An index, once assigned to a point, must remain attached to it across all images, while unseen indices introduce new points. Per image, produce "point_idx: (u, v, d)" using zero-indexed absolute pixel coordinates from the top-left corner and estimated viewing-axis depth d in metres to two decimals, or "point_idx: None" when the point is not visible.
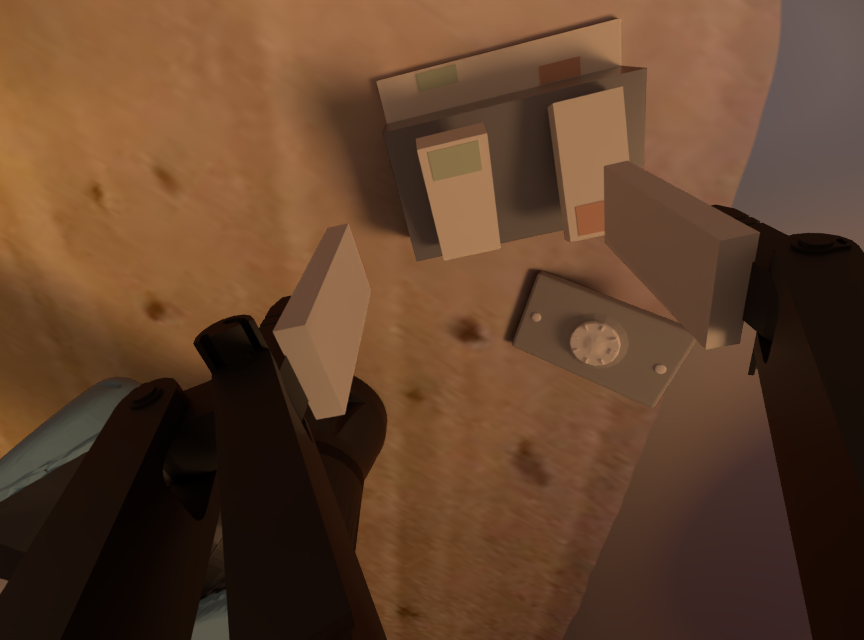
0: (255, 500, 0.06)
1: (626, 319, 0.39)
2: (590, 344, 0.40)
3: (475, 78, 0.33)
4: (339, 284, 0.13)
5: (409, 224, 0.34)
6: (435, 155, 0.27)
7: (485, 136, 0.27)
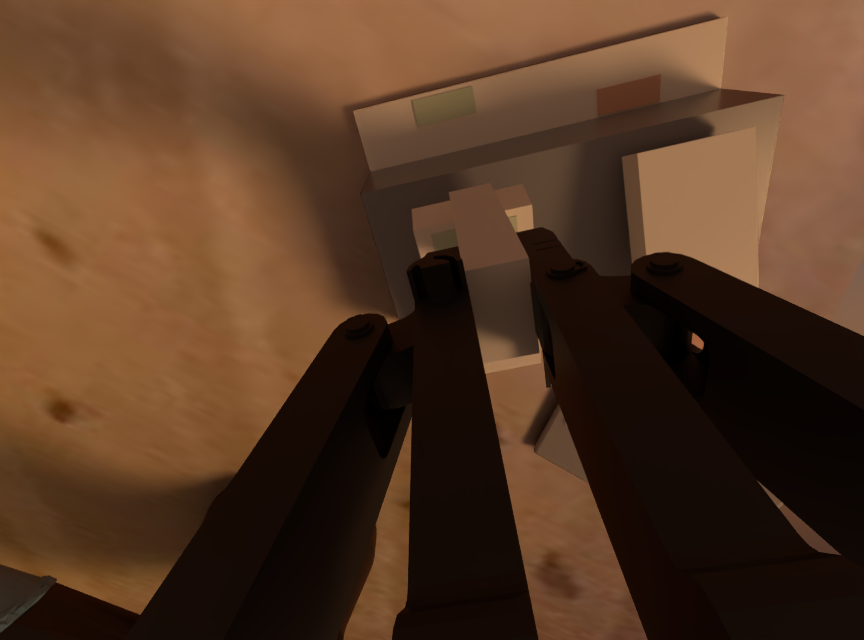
0: (442, 431, 0.06)
1: None
2: None
3: (501, 107, 0.22)
4: None
5: None
6: (444, 238, 0.16)
7: (529, 209, 0.16)
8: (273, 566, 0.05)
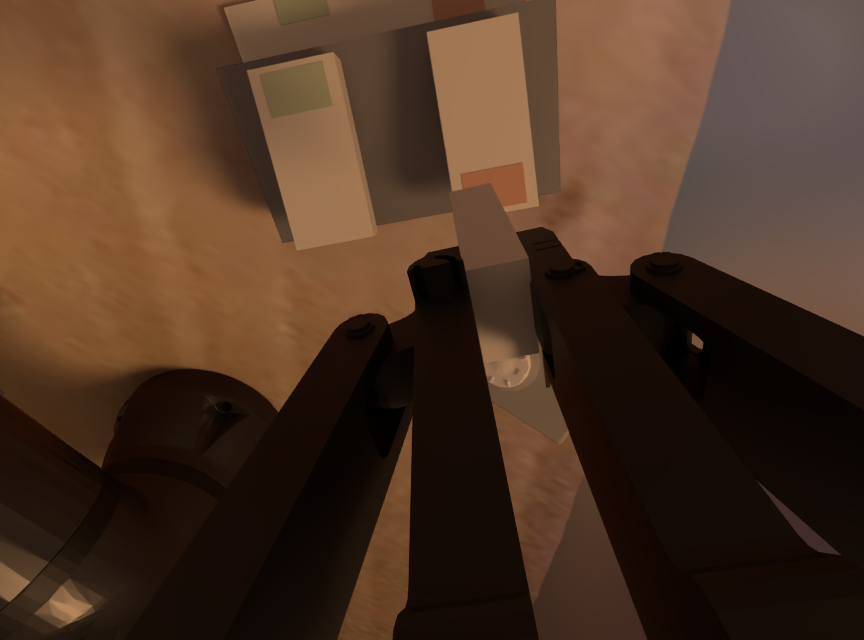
0: (443, 431, 0.06)
1: None
2: None
3: (351, 10, 0.26)
4: None
5: (267, 194, 0.27)
6: (270, 78, 0.22)
7: (331, 56, 0.21)
8: (274, 566, 0.05)
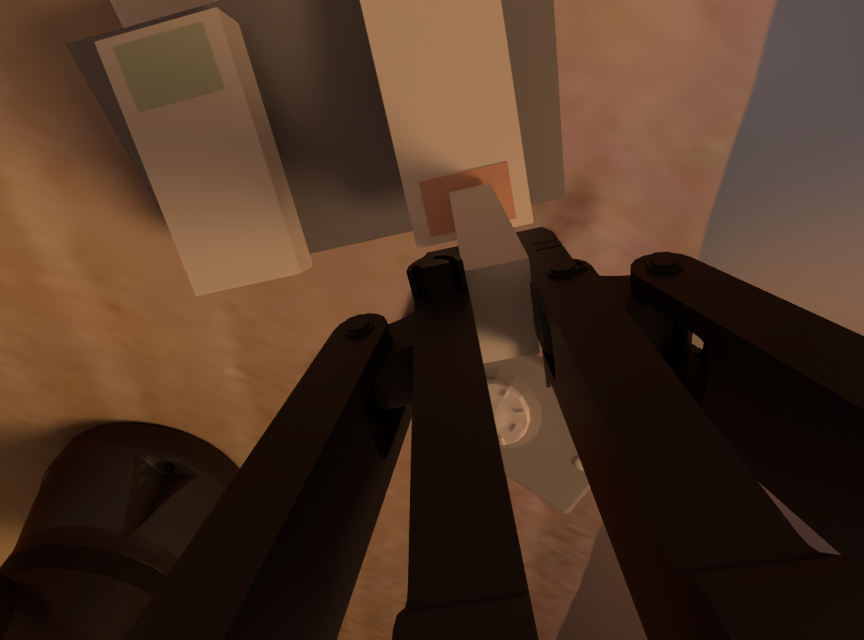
0: (442, 431, 0.06)
1: (542, 385, 0.26)
2: None
3: None
4: None
5: None
6: (129, 53, 0.15)
7: (214, 14, 0.14)
8: (273, 566, 0.05)
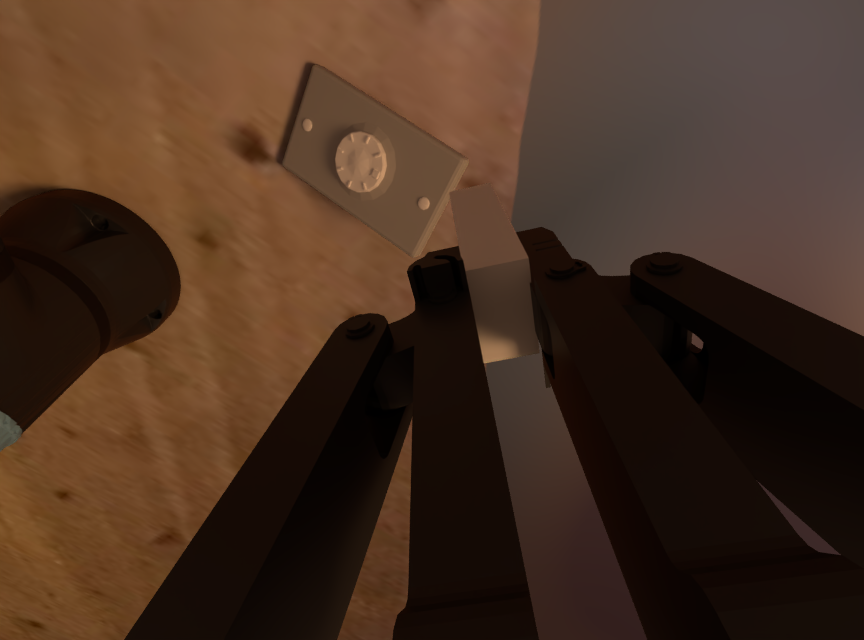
0: (443, 431, 0.06)
1: (396, 132, 0.32)
2: (353, 160, 0.33)
3: None
4: None
5: None
6: None
7: None
8: (273, 566, 0.05)
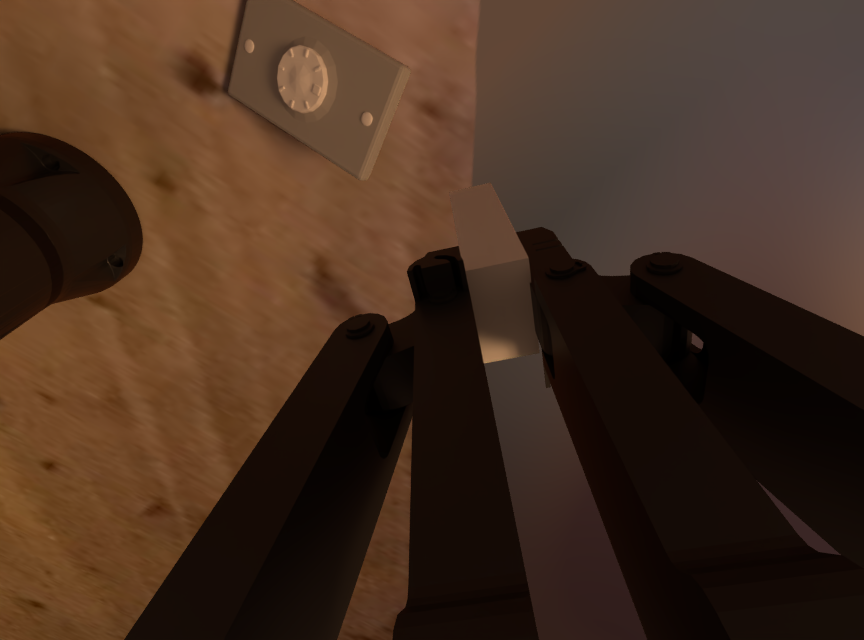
0: (443, 431, 0.06)
1: (335, 44, 0.31)
2: (294, 76, 0.32)
3: None
4: None
5: None
6: None
7: None
8: (274, 566, 0.05)
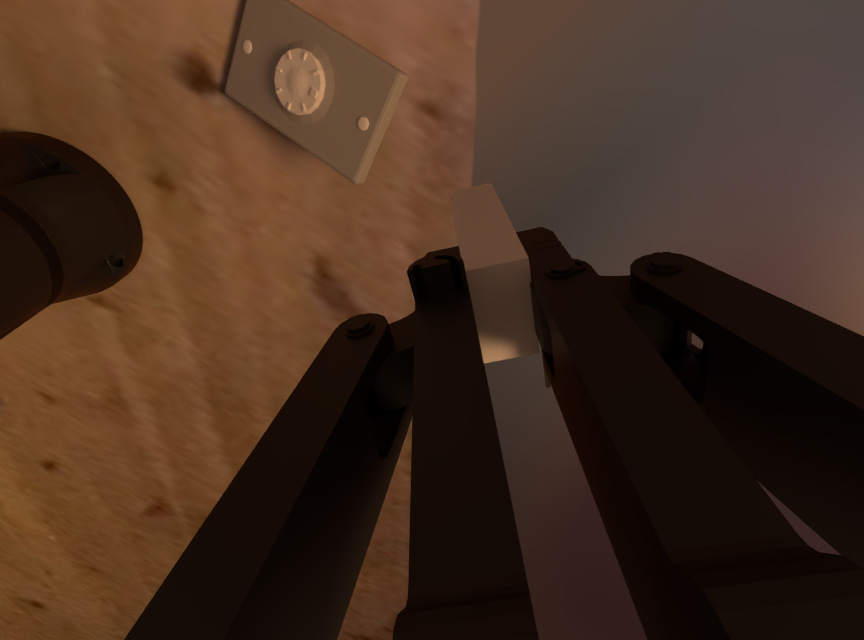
0: (443, 431, 0.06)
1: (333, 48, 0.31)
2: (292, 79, 0.32)
3: None
4: None
5: None
6: None
7: None
8: (274, 566, 0.05)
